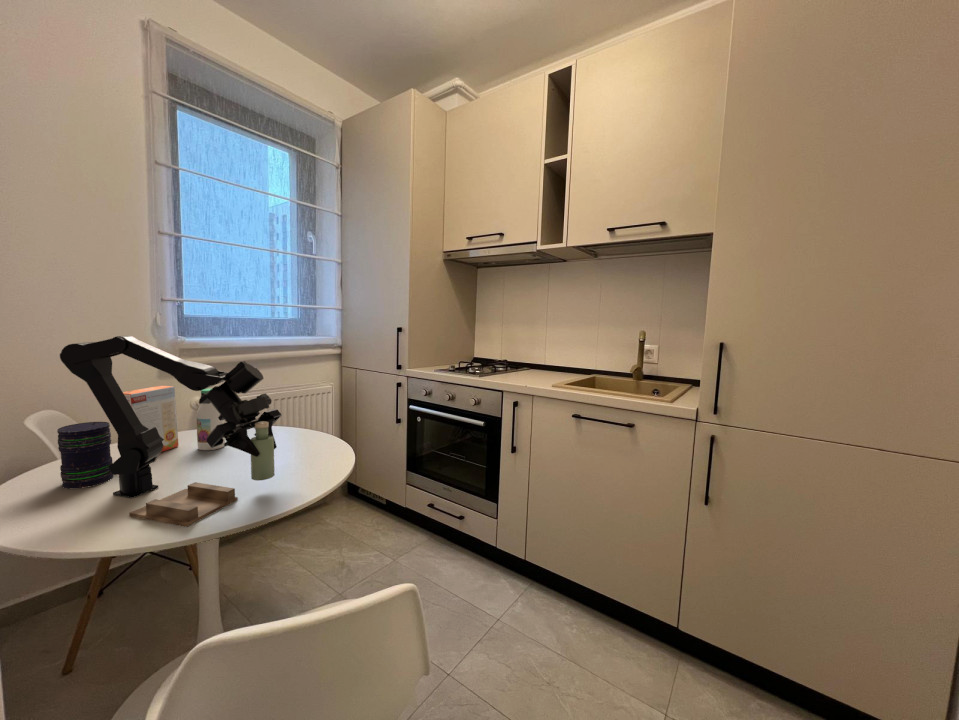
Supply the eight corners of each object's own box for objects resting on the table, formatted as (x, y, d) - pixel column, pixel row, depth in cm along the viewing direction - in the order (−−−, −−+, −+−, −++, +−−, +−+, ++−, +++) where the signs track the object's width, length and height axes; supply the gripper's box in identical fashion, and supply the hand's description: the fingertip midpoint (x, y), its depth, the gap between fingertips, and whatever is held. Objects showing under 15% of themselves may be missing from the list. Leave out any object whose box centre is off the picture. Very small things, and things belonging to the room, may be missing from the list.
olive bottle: (246, 478, 98) (244, 424, 96) (262, 471, 103) (261, 419, 101) (263, 481, 97) (262, 426, 95) (279, 473, 102) (278, 421, 100)
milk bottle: (220, 442, 138) (218, 386, 136) (228, 447, 133) (226, 389, 131) (194, 447, 132) (191, 389, 130) (202, 452, 127) (199, 392, 125)
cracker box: (164, 445, 133) (161, 384, 131) (179, 446, 132) (176, 385, 130) (119, 459, 119) (115, 392, 117) (136, 461, 118) (131, 393, 116)
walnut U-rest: (129, 516, 87) (128, 502, 86) (185, 491, 99) (185, 479, 99) (186, 527, 83) (185, 512, 83) (237, 500, 96) (237, 487, 95)
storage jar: (91, 489, 99) (86, 432, 98) (49, 489, 98) (44, 431, 97) (123, 473, 109) (120, 421, 107) (86, 473, 108) (82, 421, 107)
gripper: (214, 391, 89) (256, 443, 88) (275, 380, 107) (310, 422, 106) (188, 422, 92) (228, 472, 91) (252, 405, 110) (286, 447, 109)
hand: (267, 451), depth 99 cm, fingers closed on olive bottle, 5 cm apart
